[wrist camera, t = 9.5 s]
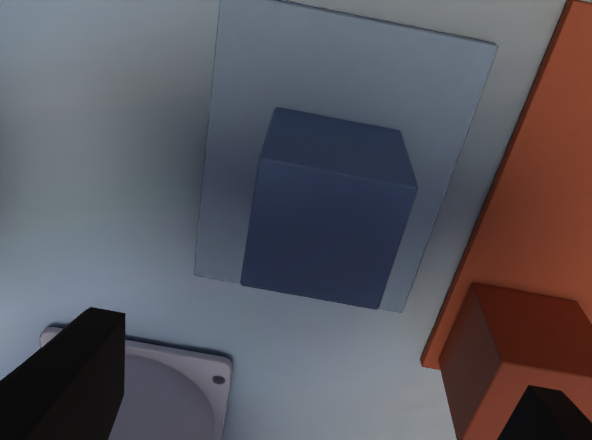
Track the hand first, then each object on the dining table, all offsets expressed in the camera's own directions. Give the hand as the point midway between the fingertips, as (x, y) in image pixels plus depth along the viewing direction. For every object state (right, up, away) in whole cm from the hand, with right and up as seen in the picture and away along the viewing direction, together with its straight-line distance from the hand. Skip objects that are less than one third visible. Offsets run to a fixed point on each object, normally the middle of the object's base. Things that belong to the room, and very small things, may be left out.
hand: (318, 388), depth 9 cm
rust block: (+8, -1, +11) cm, 13 cm away
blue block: (+1, +5, +8) cm, 9 cm away
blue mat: (+1, +5, +8) cm, 9 cm away
